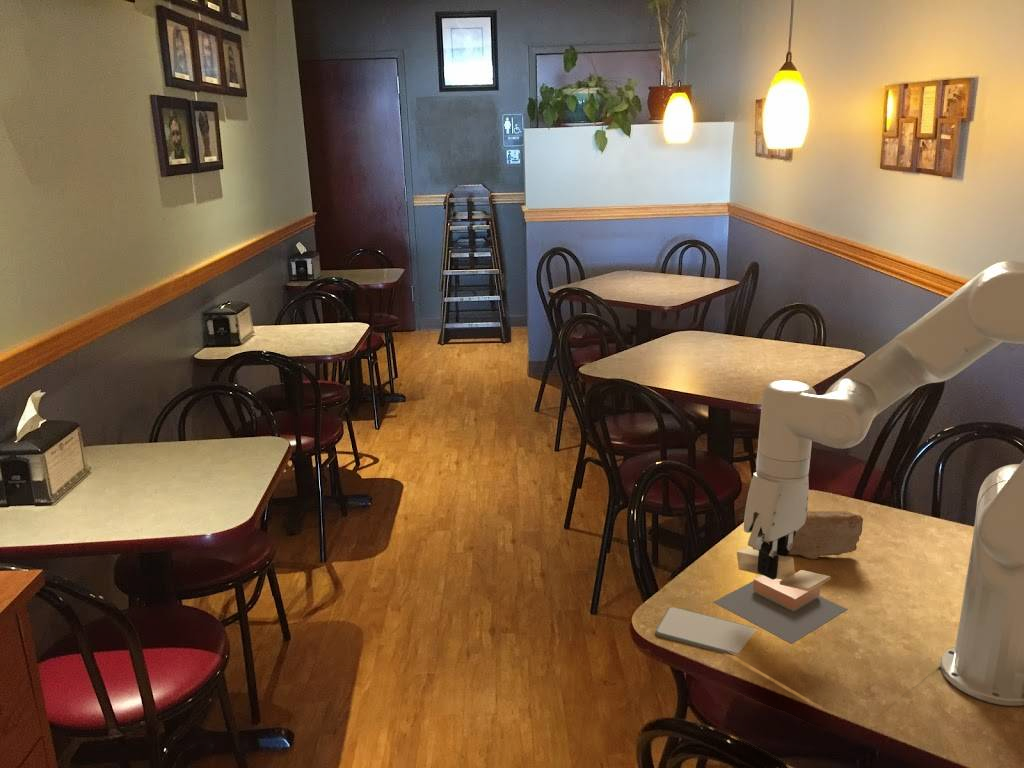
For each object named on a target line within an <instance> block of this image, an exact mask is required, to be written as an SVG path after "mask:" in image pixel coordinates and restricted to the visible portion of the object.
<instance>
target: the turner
mask: <svg viewBox="0 0 1024 768" xmlns="http://www.w3.org/2000/svg"><path fill="white" fill-rule="evenodd" d="M736 556H737V557H736V559H737V566H738V567H737V568H738V570H740V571H744V572H748V573H752V574H754V575H755V574H757V575H759V576H760V575H762V574H760V573H758V571H757V567H758V557H759V551H757V550H755V549H753V548H751V547H744V548H741V549H739V550H737V551H736ZM777 556H779V559H778V568H777V577H776V579H781V581H780V585H784V586H789V587H793V588H797V589H801V590H805V591H811V590H813V589H814V588H816V587H818V586H820V585H821V586H822V585H823V584H826V583H827V582H829V581H831V576H830V575H826V574H821V573H817V572H813V571H808V570H804V569H800V570H799V571H797V572H796V571H795V561H794V557H793V556H789V557H788V556H781V555H777ZM821 586H820V587H821Z"/></svg>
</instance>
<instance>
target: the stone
mask: <svg viewBox="0 0 1024 768" xmlns="http://www.w3.org/2000/svg"><path fill="white" fill-rule="evenodd" d="M863 522H864V518H863V517H862V516H861V514H856V513H853V512H851V511H842V510H807V516H806V521H805V524H804V525H803V526H802V527H801V528H800V529H799V530H798V531H797V532H796V534H795V536H794V537H793V542H792V547H791V549H790V550H788V549H787V550H788V551H789V556H802V558H803V557H804V558H806V559H807V558H808V559H809V560H816V559H819V557H825V556H828V557H829V556H840V555H842V554H848V553H852V552H854V551H857V544H858V543H859V542H860V536H861V535H862V533H863ZM765 542H766V543H768V544H769V545H770V542H767V541H765ZM752 549H755V548H752ZM755 550H757V549H755Z"/></svg>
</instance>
